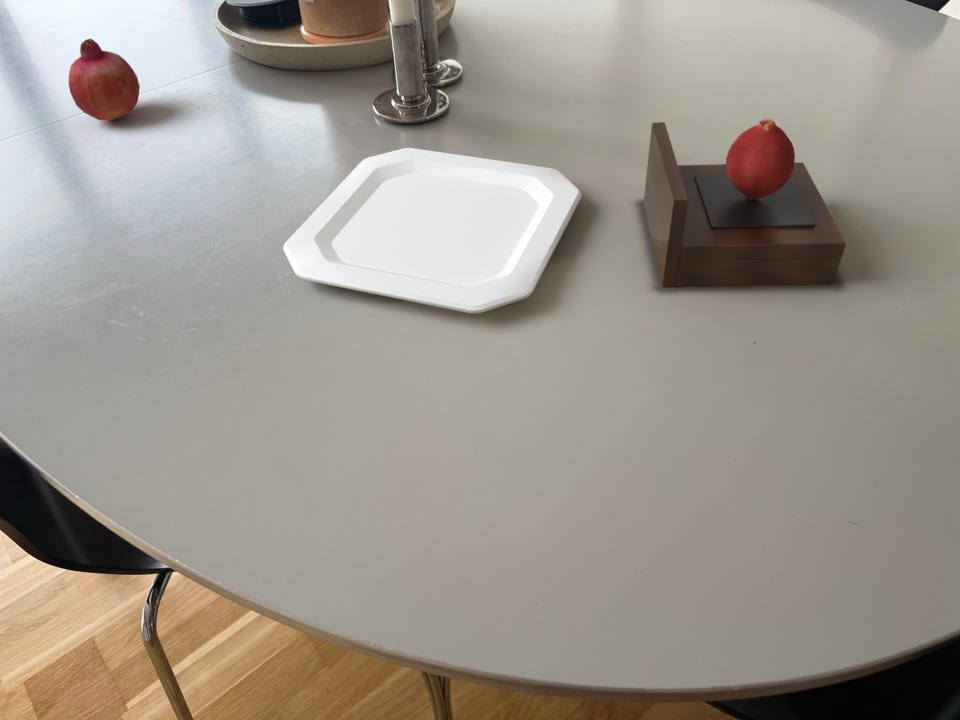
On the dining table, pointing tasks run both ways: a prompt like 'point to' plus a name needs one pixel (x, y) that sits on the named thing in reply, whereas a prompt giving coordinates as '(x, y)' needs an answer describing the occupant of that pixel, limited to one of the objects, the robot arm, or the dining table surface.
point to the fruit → (103, 83)
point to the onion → (760, 160)
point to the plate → (437, 229)
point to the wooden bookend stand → (735, 226)
